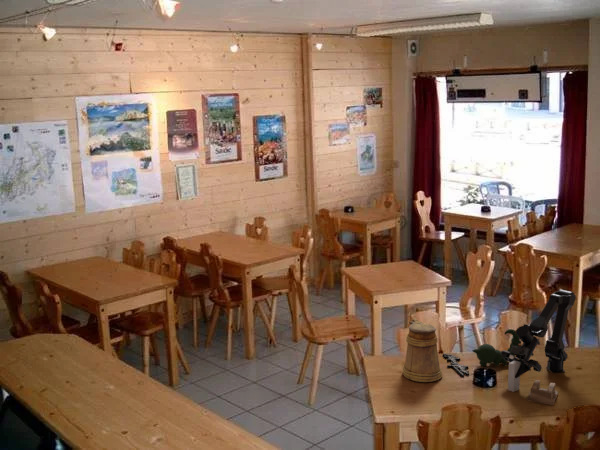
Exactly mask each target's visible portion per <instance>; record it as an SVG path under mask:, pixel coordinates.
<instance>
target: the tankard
mask: <svg viewBox="0 0 600 450" xmlns="http://www.w3.org/2000/svg"><path fill="white" fill-rule="evenodd" d="M408 323H409V324H408V325H409V326H408V334H407V336H406V339H405V342H406V344H407V347H406V352H405V362H404V364H403V366H402V375H403V376H404V377H405V378H406V379H408V380H410V381H413V382H418V383H430V382H435V381H439V380H440V379H441V378H443V371H442V368H441V366H440V359H439V354H438V353H439V352H438V345H437V343H438V335H437V334H436V331H437V329H436V327H435V326H434V325H432V324H430V323H429V324H428V323H424V322H422V321H421V320H418V319H417V318H416V317H413V318H412V320H410V321H409V322H408Z"/></svg>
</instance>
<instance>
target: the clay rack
mask: <svg viewBox="0 0 600 450" xmlns="http://www.w3.org/2000/svg"><path fill="white" fill-rule="evenodd" d="M540 384H541V381H540V379H539V380H538V379H535V380H534V382H533V383H532V385H531V387H530V390H529V393H528V395H527V397H526V401H528V402H533V403H539V404H545V405H549V406H554V404H555V402H556V400H557V399H558V398H557V397H558V395H559V391H557V390H556V383H555V382H550V383H549V385H548V387H547V388H546V389H545V388H541V387H540V386H541V385H540Z"/></svg>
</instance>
